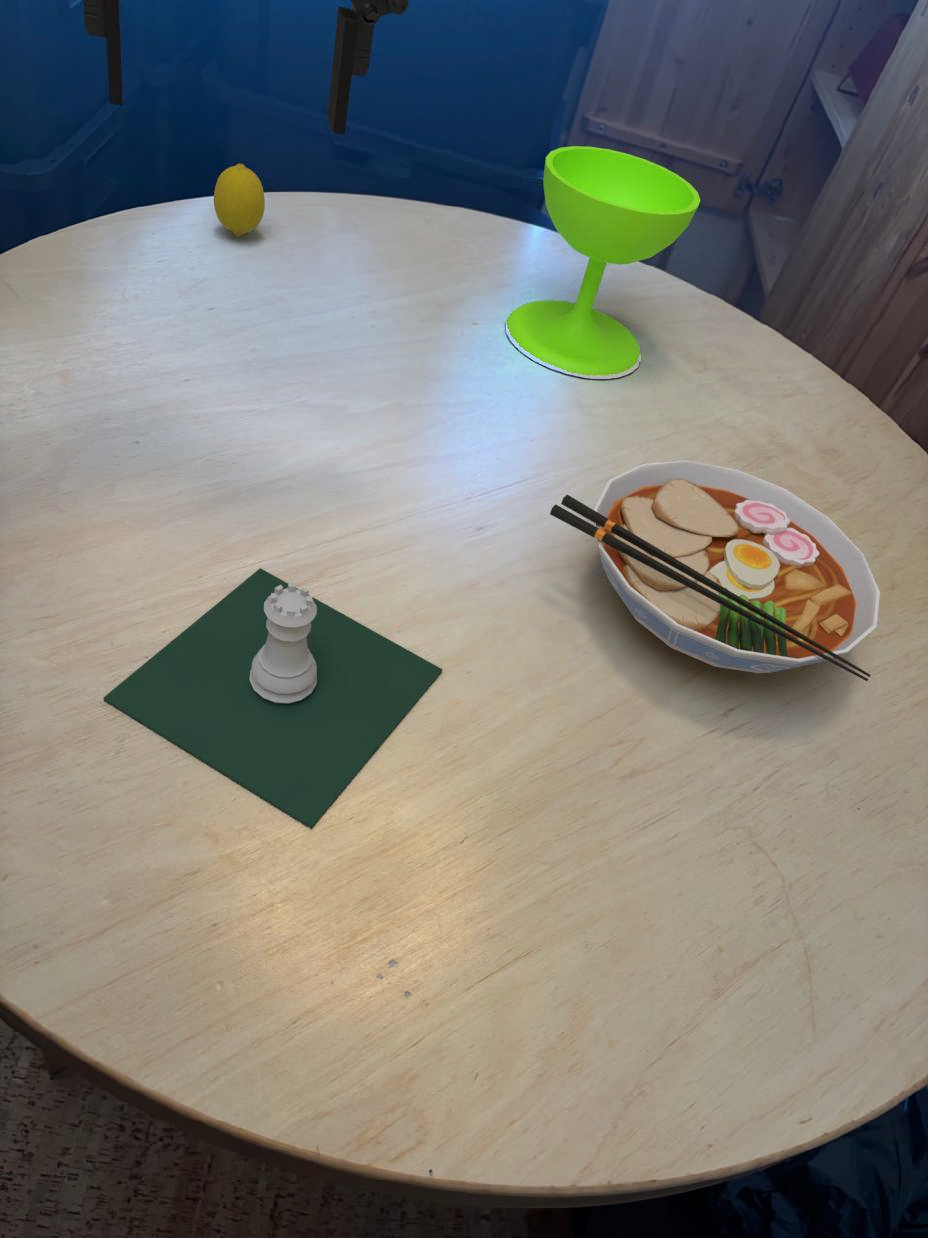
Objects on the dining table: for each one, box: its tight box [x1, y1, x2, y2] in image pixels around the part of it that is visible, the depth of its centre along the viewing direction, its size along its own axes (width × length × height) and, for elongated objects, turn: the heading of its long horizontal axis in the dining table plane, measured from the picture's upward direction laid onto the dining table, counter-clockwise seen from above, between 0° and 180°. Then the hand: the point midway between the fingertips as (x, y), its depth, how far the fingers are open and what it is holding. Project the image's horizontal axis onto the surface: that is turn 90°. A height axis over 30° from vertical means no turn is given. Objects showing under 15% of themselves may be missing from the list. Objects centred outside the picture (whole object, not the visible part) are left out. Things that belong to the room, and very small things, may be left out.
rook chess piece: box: [250, 582, 317, 704], centre depth 61 cm, size 4×4×8 cm
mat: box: [103, 567, 443, 829], centre depth 64 cm, size 16×16×1 cm
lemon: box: [213, 163, 266, 237], centre depth 106 cm, size 6×6×8 cm
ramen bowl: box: [549, 459, 881, 682], centre depth 75 cm, size 25×23×8 cm
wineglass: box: [506, 145, 701, 376], centre depth 101 cm, size 16×16×18 cm
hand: (229, 112), depth 60 cm, fingers open, 13 cm apart
